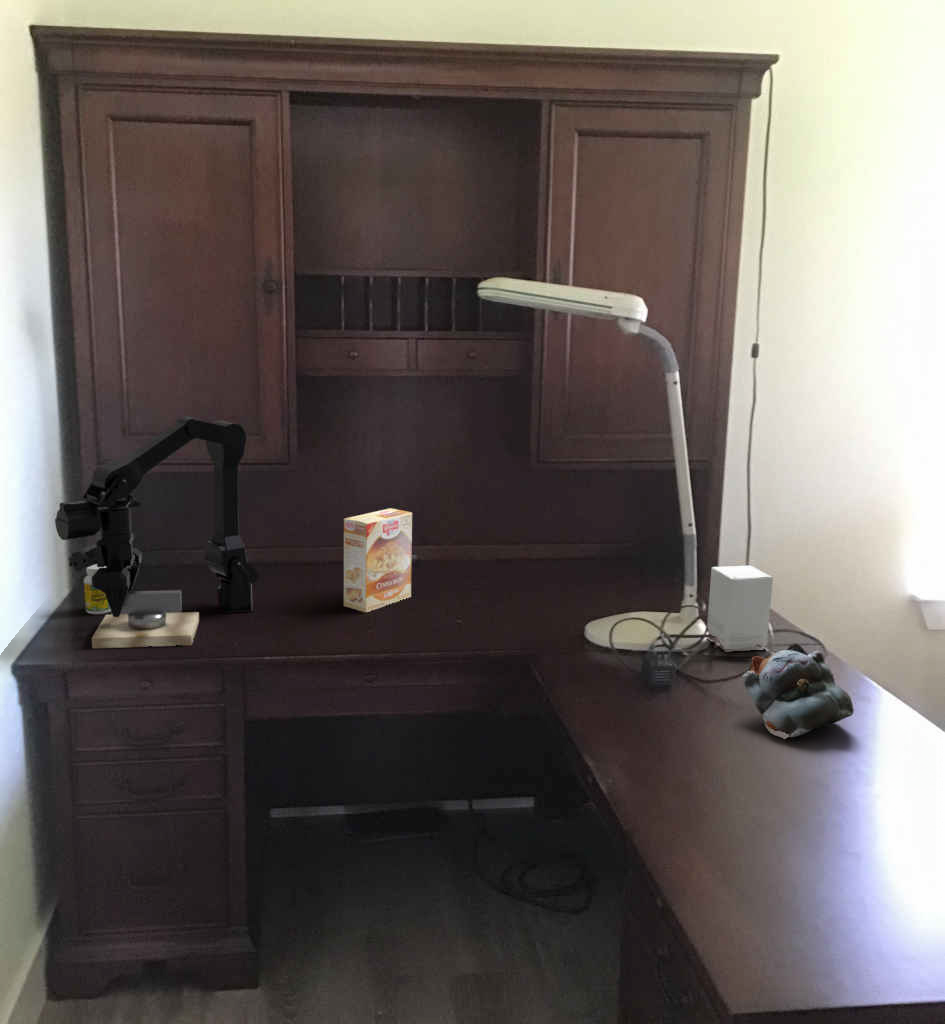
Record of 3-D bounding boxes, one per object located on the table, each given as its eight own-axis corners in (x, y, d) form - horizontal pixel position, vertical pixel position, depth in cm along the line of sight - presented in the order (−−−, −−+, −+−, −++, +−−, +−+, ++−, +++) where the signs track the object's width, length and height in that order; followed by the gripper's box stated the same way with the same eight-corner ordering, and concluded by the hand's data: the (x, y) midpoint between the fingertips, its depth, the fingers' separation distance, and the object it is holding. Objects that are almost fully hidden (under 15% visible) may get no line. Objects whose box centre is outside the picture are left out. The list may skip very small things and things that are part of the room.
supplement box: (768, 651, 196) (774, 577, 193) (725, 653, 194) (731, 578, 191) (746, 635, 204) (752, 564, 201) (704, 638, 203) (710, 566, 199)
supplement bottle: (109, 605, 214) (107, 561, 212) (116, 612, 210) (113, 567, 208) (83, 609, 211) (80, 565, 209) (89, 616, 207) (86, 571, 205)
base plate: (199, 621, 205) (198, 611, 205) (191, 645, 192) (191, 634, 191) (106, 624, 202) (105, 614, 202) (92, 648, 189) (91, 637, 188)
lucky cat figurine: (769, 745, 155) (742, 656, 158) (756, 742, 166) (730, 660, 169) (866, 720, 154) (836, 631, 157) (845, 719, 166) (818, 636, 169)
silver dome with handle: (184, 617, 201) (182, 585, 200) (179, 628, 194) (178, 595, 193) (115, 619, 199) (114, 587, 198) (109, 630, 192) (107, 597, 191)
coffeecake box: (366, 613, 213) (366, 523, 209) (342, 606, 217) (341, 518, 213) (412, 597, 225) (413, 511, 220) (388, 591, 229) (389, 507, 225)
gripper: (81, 521, 199) (86, 597, 203) (59, 544, 182) (65, 627, 185) (140, 520, 201) (143, 595, 205) (124, 543, 183) (128, 625, 187)
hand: (120, 610), depth 195 cm, fingers open, 8 cm apart
